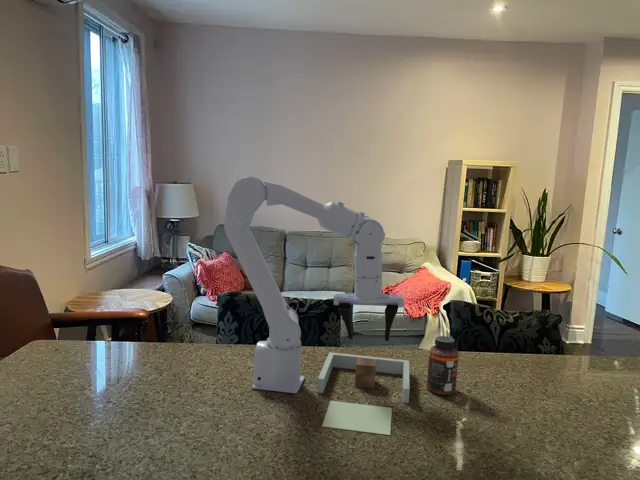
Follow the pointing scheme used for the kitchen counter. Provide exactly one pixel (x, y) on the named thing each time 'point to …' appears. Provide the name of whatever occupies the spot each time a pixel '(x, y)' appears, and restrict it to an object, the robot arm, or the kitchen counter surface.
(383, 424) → the mat
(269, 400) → the kitchen counter surface
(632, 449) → the kitchen counter surface
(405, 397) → the u-shaped barrier
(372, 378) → the block
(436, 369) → the supplement bottle
